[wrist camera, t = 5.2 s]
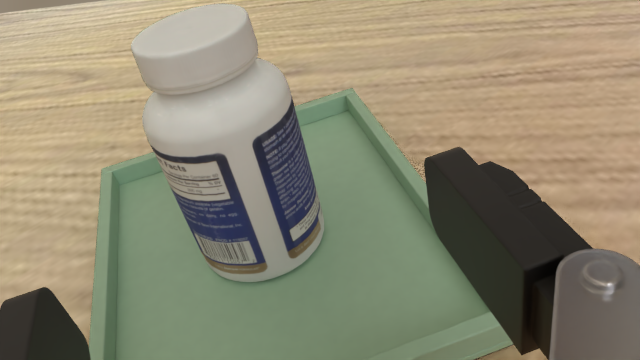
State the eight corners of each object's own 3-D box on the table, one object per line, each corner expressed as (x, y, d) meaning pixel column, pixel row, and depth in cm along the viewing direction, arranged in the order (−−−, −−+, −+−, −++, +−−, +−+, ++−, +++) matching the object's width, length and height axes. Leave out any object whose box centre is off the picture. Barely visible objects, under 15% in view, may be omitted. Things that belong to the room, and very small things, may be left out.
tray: (111, 187, 30) (101, 168, 30) (355, 107, 32) (352, 87, 31) (97, 505, 17) (77, 485, 16) (526, 339, 18) (527, 314, 17)
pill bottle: (298, 183, 27) (240, -18, 21) (347, 249, 23) (293, 21, 17) (192, 230, 26) (100, 31, 20) (223, 308, 21) (118, 85, 16)
